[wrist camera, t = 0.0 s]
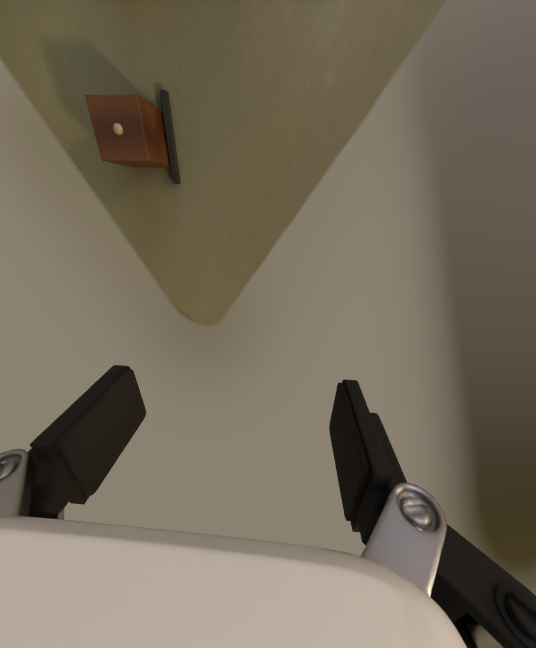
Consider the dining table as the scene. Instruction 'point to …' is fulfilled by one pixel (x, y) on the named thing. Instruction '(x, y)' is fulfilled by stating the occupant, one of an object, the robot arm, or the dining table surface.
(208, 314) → the dining table surface
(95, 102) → the die
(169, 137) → the stop strip
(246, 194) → the dining table surface
